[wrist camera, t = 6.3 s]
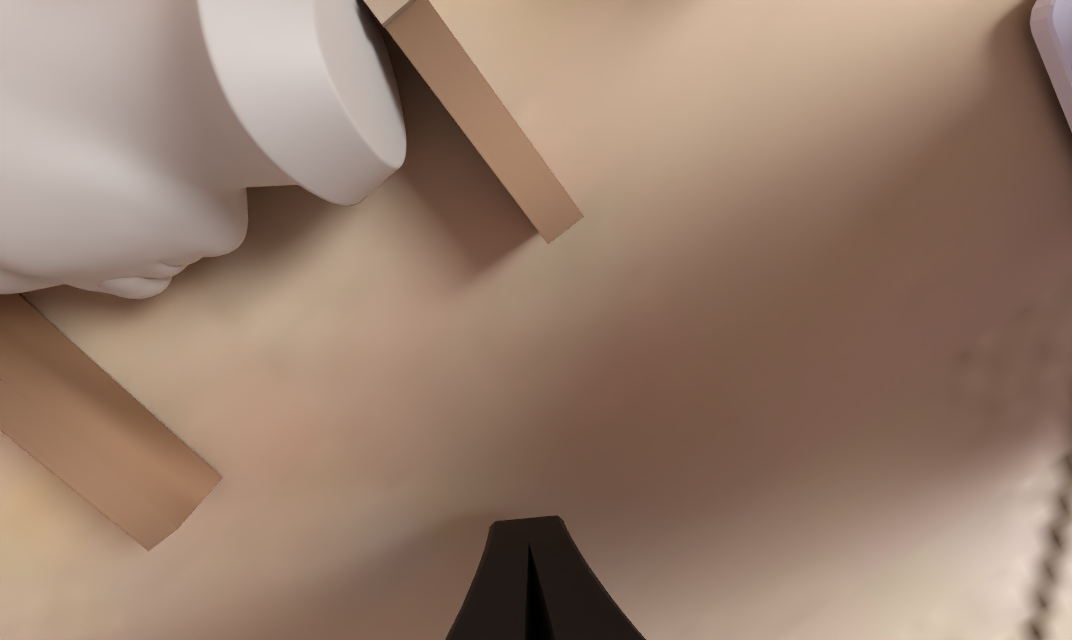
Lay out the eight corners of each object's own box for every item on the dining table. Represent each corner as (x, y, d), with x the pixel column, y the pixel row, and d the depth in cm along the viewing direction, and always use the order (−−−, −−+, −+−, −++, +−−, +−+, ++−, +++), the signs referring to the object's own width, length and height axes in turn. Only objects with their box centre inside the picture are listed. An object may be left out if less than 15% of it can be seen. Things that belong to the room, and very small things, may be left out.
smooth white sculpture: (20, 240, 11) (-161, -86, 8) (432, 237, 11) (402, -72, 8) (-228, 383, 7) (-732, -128, 4) (399, 370, 7) (324, -99, 5)
